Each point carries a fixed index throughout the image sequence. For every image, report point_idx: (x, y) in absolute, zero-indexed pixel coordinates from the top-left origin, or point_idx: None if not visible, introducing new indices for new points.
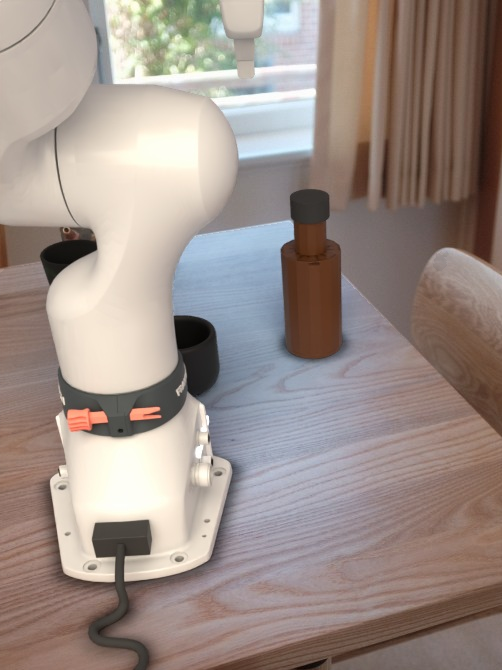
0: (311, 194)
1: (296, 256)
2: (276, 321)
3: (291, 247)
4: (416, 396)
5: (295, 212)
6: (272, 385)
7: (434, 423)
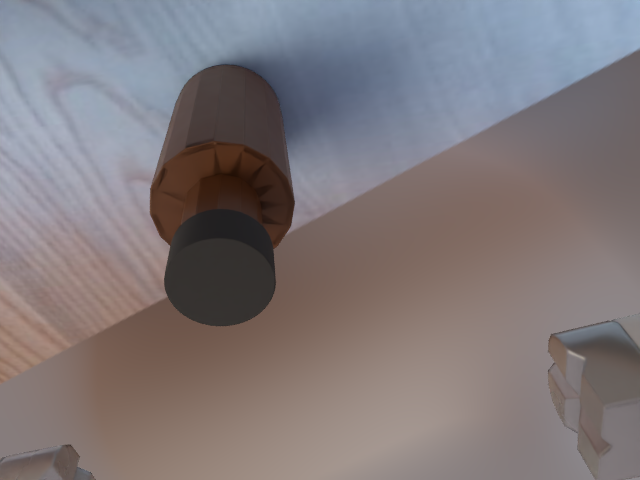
0: (232, 287)
1: (175, 185)
2: (314, 28)
3: (225, 165)
4: (100, 283)
5: (175, 241)
6: (65, 63)
7: (36, 309)
